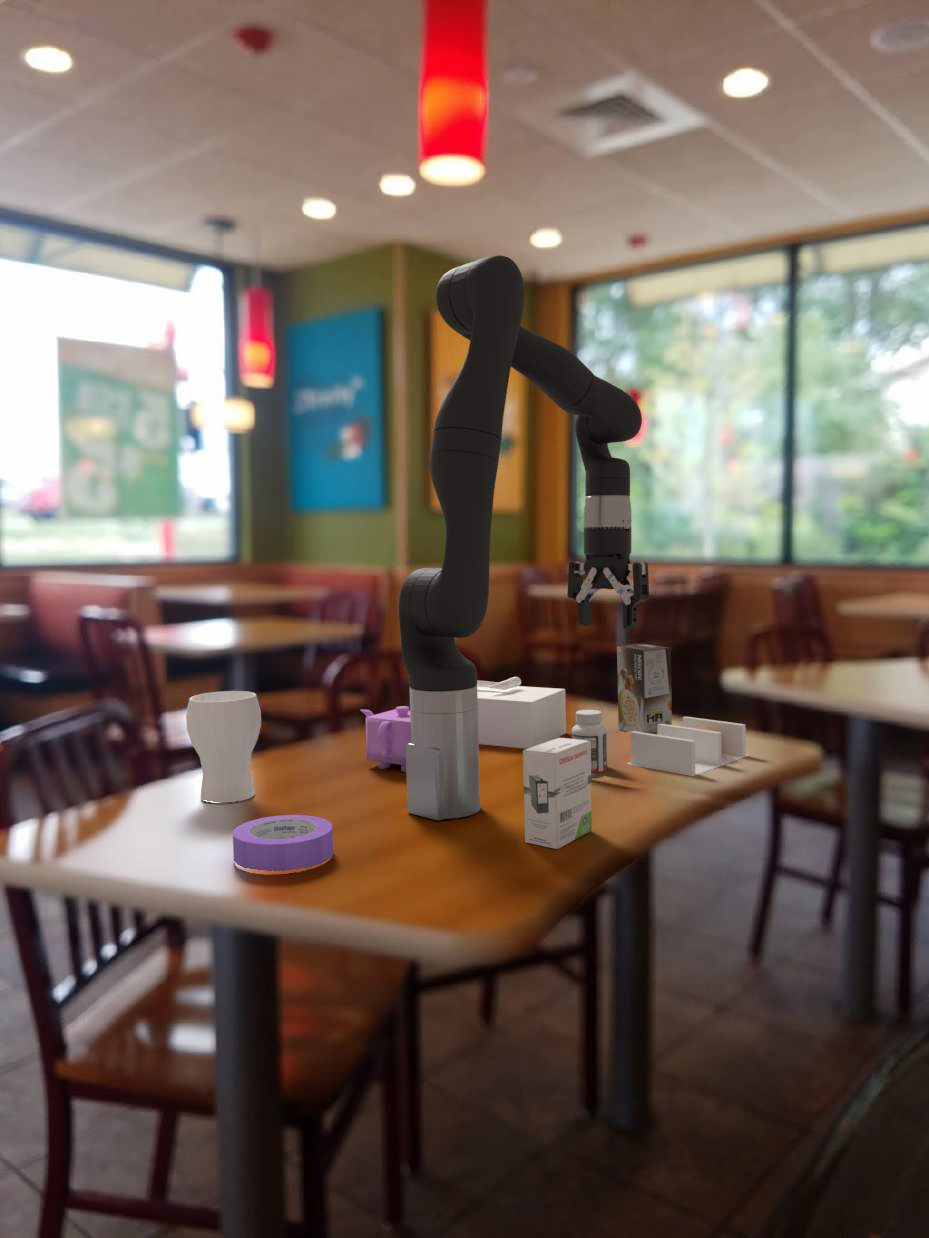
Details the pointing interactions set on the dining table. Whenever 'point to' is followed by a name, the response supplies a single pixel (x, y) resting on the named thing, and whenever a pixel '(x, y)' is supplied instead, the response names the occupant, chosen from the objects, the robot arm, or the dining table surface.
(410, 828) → the dining table surface
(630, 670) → the coffee box
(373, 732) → the teapot
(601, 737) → the pill bottle
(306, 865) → the masking tape
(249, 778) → the cup
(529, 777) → the ink box
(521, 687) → the tissue box
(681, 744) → the rack
